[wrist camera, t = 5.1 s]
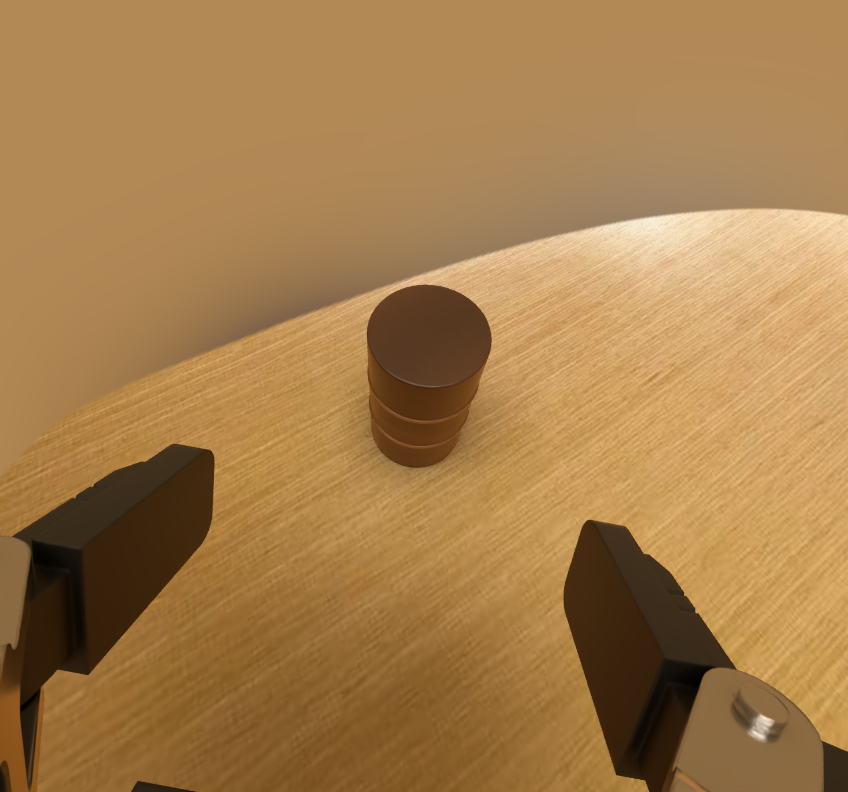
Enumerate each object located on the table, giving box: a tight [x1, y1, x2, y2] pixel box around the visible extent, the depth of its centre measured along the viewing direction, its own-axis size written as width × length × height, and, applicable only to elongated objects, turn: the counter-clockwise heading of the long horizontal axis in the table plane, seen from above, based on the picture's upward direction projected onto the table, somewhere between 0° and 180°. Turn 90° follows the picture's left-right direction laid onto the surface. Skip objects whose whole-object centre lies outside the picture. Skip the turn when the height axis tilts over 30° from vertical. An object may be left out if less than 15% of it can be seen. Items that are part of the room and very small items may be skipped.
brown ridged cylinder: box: [367, 285, 492, 467], centre depth 20 cm, size 4×4×8 cm
